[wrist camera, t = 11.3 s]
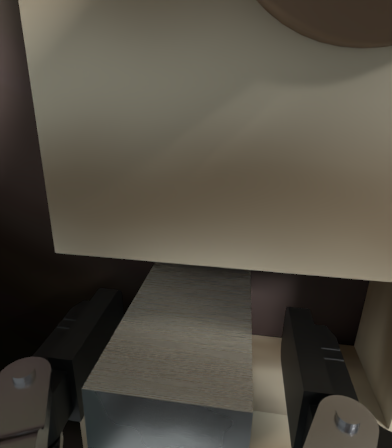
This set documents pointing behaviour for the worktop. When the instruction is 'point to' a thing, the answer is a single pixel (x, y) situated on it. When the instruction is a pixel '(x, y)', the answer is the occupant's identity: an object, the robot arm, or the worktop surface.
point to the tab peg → (177, 364)
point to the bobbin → (337, 20)
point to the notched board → (221, 158)
